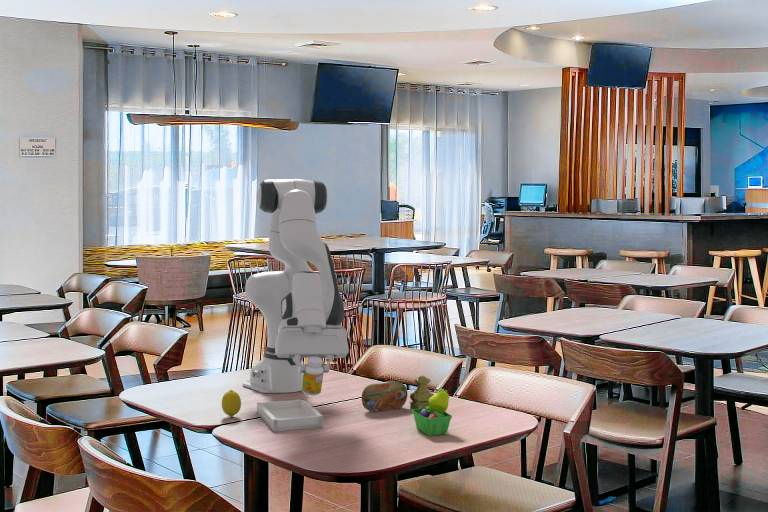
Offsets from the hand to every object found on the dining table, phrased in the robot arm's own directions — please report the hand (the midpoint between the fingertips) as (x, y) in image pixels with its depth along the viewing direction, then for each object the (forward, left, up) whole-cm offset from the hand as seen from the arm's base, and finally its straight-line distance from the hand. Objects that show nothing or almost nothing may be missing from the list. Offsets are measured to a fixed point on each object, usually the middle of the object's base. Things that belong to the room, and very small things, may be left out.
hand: (314, 372), depth 250 cm
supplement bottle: (-2, +1, -6) cm, 6 cm away
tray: (-13, +2, -16) cm, 21 cm away
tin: (-1, +29, -16) cm, 34 cm away
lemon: (-28, -7, -16) cm, 33 cm away
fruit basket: (+25, +20, -16) cm, 36 cm away
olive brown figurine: (+7, +37, -16) cm, 41 cm away
